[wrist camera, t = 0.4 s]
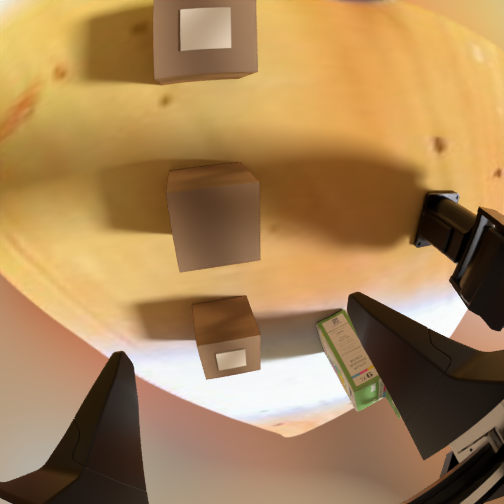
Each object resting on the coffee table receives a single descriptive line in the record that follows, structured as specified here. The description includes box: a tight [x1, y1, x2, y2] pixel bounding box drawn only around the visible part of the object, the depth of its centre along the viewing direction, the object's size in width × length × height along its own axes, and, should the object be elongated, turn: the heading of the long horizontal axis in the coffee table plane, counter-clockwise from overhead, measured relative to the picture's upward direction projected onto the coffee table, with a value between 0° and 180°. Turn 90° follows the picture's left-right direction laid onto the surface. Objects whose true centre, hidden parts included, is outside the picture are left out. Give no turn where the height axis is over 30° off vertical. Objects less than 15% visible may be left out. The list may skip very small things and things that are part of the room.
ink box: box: [316, 310, 401, 419], centre depth 26 cm, size 7×4×13 cm, turn 22°
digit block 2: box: [192, 296, 261, 380], centre depth 24 cm, size 5×5×5 cm
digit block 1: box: [153, 0, 258, 85], centre depth 12 cm, size 5×5×5 cm
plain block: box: [166, 162, 260, 272], centre depth 17 cm, size 5×5×5 cm
